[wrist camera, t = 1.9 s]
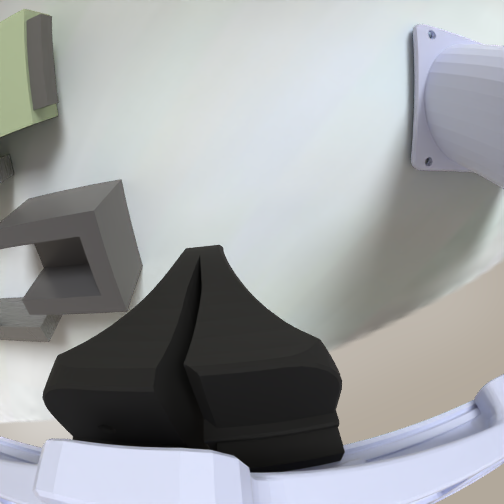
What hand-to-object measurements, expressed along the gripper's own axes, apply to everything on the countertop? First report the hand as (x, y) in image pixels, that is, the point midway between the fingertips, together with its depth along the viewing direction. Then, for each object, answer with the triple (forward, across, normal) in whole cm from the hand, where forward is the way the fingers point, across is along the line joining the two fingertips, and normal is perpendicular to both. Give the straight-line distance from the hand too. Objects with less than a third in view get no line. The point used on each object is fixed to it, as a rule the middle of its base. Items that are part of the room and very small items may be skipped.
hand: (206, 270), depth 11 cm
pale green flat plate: (+5, +12, -9) cm, 16 cm away
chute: (+5, +7, 0) cm, 9 cm away
